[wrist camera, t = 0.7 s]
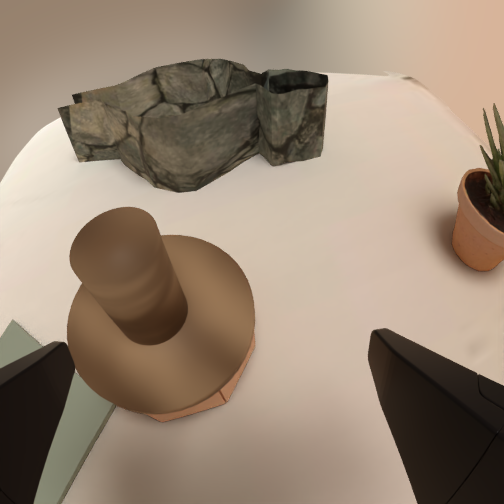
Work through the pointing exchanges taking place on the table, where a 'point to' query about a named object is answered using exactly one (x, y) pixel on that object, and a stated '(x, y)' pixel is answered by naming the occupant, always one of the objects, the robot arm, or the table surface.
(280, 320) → the table surface
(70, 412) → the rubber mat
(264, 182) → the table surface
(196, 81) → the stone wall
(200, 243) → the walnut lid
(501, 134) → the potted plant
